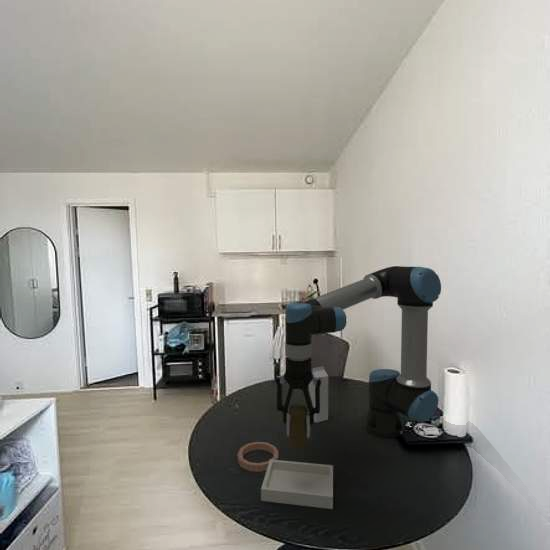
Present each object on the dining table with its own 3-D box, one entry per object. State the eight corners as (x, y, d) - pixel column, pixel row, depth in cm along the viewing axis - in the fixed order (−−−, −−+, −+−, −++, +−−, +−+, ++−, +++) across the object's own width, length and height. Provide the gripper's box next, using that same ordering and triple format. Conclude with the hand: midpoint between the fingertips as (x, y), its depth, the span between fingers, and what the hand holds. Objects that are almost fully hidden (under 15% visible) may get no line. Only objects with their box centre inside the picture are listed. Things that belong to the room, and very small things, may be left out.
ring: (280, 449, 122) (280, 443, 122) (274, 473, 109) (274, 467, 109) (244, 446, 124) (244, 440, 124) (233, 469, 111) (233, 463, 111)
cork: (294, 449, 97) (294, 411, 97) (284, 439, 103) (284, 403, 102) (312, 443, 100) (312, 407, 99) (301, 434, 105) (301, 399, 105)
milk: (308, 417, 146) (308, 366, 145) (320, 413, 149) (320, 364, 148) (316, 423, 141) (316, 370, 139) (328, 419, 144) (328, 368, 142)
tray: (332, 476, 108) (332, 465, 107) (332, 509, 94) (332, 496, 94) (270, 469, 111) (270, 459, 111) (261, 500, 97) (261, 488, 97)
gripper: (330, 354, 102) (329, 430, 103) (269, 351, 105) (270, 425, 106) (329, 362, 94) (329, 443, 96) (265, 359, 98) (265, 438, 99)
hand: (298, 434), depth 101 cm, fingers closed on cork, 5 cm apart
